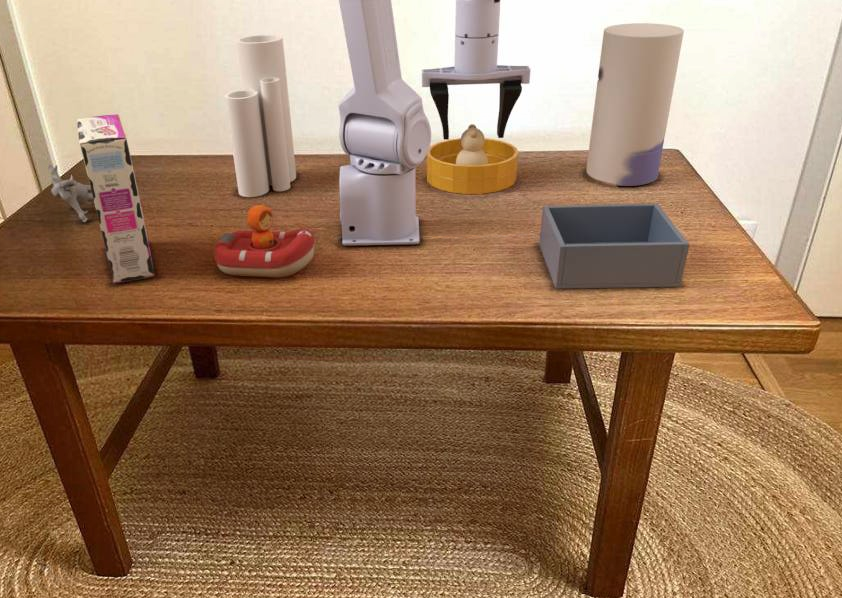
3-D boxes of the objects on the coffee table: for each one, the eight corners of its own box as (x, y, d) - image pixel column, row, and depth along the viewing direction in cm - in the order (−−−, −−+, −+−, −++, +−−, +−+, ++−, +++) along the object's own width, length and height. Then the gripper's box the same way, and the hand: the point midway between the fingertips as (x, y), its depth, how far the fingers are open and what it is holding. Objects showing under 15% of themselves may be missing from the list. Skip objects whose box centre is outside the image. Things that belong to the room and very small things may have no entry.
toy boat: (308, 283, 81) (302, 220, 77) (209, 279, 83) (198, 218, 79) (322, 254, 88) (317, 194, 84) (230, 251, 89) (221, 192, 85)
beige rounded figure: (456, 183, 105) (457, 132, 101) (454, 173, 108) (455, 122, 104) (488, 183, 104) (491, 131, 100) (485, 172, 108) (487, 121, 104)
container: (593, 161, 112) (611, 20, 101) (661, 168, 108) (688, 23, 97) (579, 182, 105) (597, 33, 94) (652, 190, 101) (679, 36, 90)
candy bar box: (158, 277, 84) (127, 136, 75) (113, 285, 83) (77, 143, 74) (147, 240, 93) (119, 111, 84) (107, 247, 92) (74, 117, 83)
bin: (555, 288, 78) (560, 246, 75) (539, 244, 88) (542, 205, 85) (680, 286, 77) (689, 244, 75) (650, 242, 87) (657, 203, 84)
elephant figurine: (133, 207, 104) (83, 207, 96) (111, 234, 106) (60, 236, 98) (96, 153, 105) (44, 149, 97) (75, 181, 108) (23, 179, 100)
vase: (261, 170, 115) (244, 34, 104) (304, 172, 113) (292, 34, 102) (233, 196, 105) (211, 50, 95) (279, 198, 104) (263, 50, 93)
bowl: (428, 198, 102) (428, 167, 99) (425, 167, 113) (425, 138, 110) (521, 196, 101) (524, 165, 98) (510, 165, 112) (511, 136, 109)
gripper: (527, 27, 99) (520, 127, 106) (421, 31, 100) (421, 130, 107) (535, 36, 93) (527, 141, 100) (422, 40, 94) (422, 144, 101)
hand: (473, 136), depth 103 cm, fingers open, 7 cm apart
